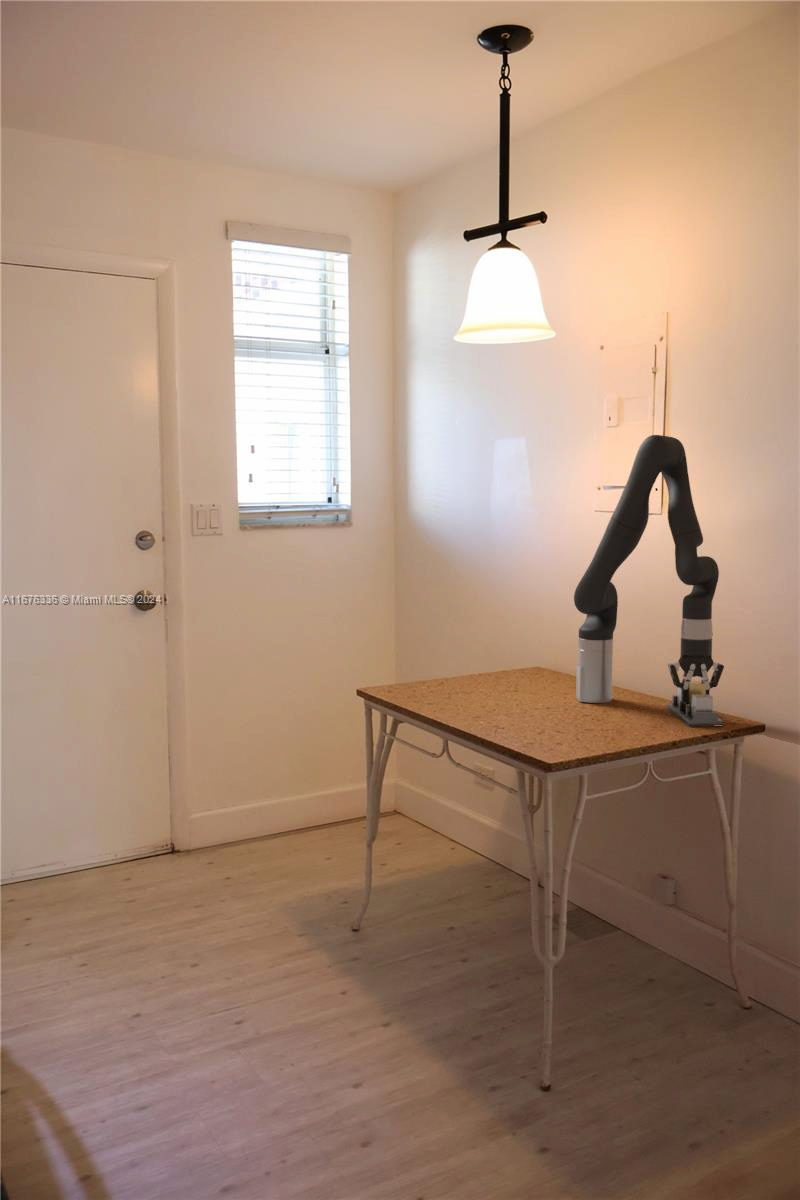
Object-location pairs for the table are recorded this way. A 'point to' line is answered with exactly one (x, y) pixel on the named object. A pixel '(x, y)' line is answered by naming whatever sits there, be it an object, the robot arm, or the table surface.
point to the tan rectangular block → (695, 690)
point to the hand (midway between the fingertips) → (694, 703)
